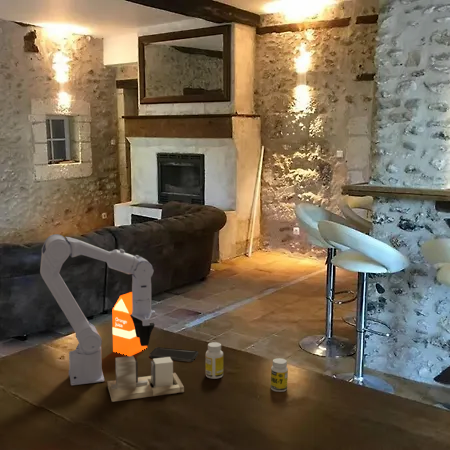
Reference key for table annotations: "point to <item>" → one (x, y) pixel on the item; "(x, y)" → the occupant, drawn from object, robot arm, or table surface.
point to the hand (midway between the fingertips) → (142, 341)
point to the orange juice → (124, 327)
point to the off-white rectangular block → (162, 372)
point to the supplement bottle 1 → (214, 361)
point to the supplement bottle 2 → (279, 375)
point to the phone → (174, 354)
